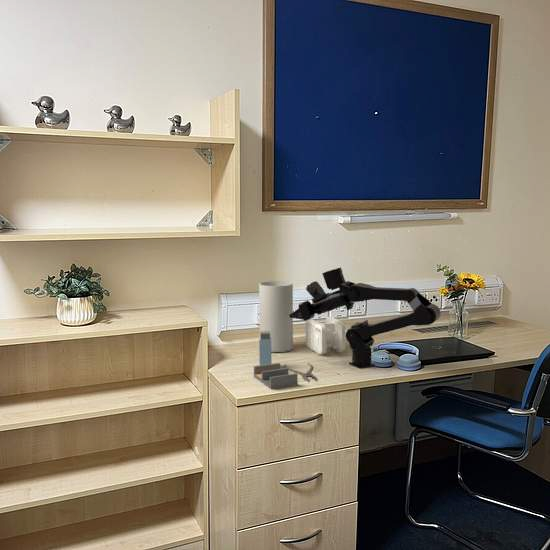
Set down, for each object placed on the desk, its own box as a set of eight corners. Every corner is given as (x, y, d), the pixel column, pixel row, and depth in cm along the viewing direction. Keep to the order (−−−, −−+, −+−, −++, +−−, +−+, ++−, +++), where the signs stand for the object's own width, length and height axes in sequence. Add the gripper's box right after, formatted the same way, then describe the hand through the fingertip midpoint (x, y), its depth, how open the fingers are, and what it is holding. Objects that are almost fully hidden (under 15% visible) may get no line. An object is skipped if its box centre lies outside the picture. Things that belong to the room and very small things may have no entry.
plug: (271, 365, 212) (270, 330, 211) (271, 368, 208) (271, 333, 207) (259, 365, 212) (259, 331, 210) (259, 368, 208) (259, 333, 206)
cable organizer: (346, 354, 225) (347, 323, 223) (320, 357, 221) (320, 325, 220) (329, 345, 239) (329, 315, 237) (304, 347, 235) (304, 317, 234)
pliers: (306, 361, 215) (335, 376, 197) (306, 363, 215) (335, 379, 197) (281, 364, 211) (308, 380, 193) (281, 367, 211) (308, 383, 193)
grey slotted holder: (279, 373, 203) (279, 362, 202) (297, 385, 190) (297, 374, 190) (253, 376, 199) (253, 366, 199) (270, 389, 187) (270, 377, 186)
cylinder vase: (294, 352, 228) (294, 285, 224) (261, 353, 227) (260, 286, 223) (290, 344, 240) (290, 280, 237) (258, 345, 239) (258, 281, 236)
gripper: (335, 275, 222) (299, 289, 230) (313, 282, 206) (275, 296, 214) (346, 304, 222) (309, 317, 229) (324, 314, 205) (286, 327, 213)
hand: (295, 313), depth 221 cm, fingers open, 9 cm apart
